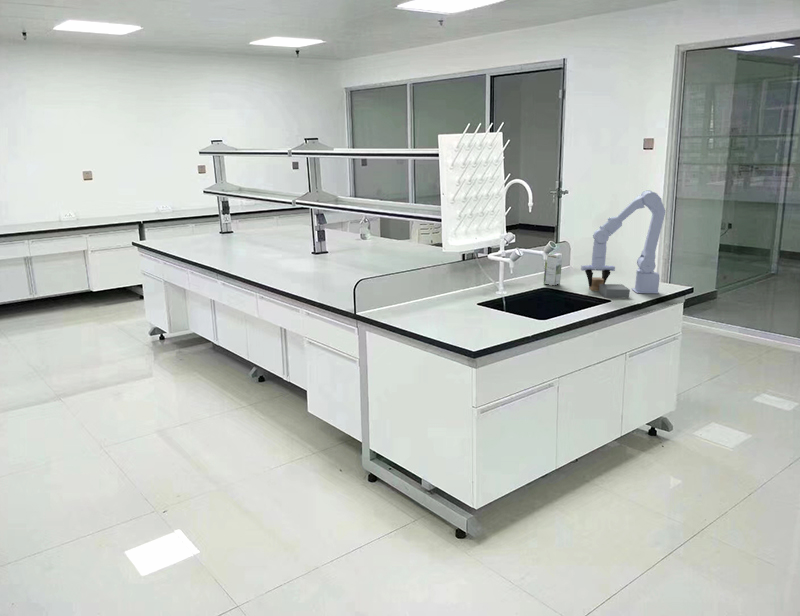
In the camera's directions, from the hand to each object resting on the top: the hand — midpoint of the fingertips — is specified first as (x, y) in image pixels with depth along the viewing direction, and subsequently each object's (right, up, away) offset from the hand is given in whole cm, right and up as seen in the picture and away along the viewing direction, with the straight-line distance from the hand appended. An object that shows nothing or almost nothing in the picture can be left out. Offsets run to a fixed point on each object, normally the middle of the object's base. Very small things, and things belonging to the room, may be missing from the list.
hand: (596, 286), depth 289 cm
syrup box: (-18, +1, +10) cm, 20 cm away
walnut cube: (0, -1, 0) cm, 1 cm away
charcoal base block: (+5, -4, -9) cm, 11 cm away
